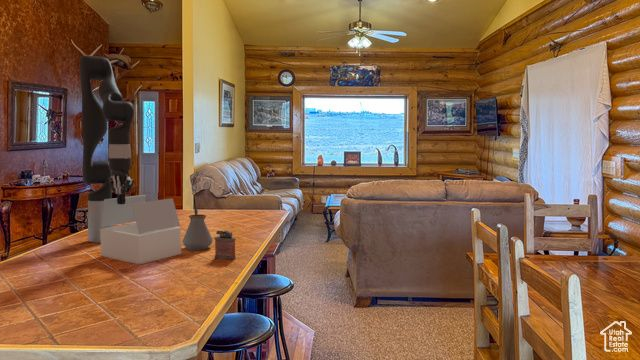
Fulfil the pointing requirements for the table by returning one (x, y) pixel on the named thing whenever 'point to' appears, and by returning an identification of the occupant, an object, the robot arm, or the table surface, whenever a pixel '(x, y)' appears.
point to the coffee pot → (197, 233)
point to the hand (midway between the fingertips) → (121, 204)
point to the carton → (139, 243)
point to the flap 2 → (155, 215)
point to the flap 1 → (119, 211)
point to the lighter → (225, 245)
